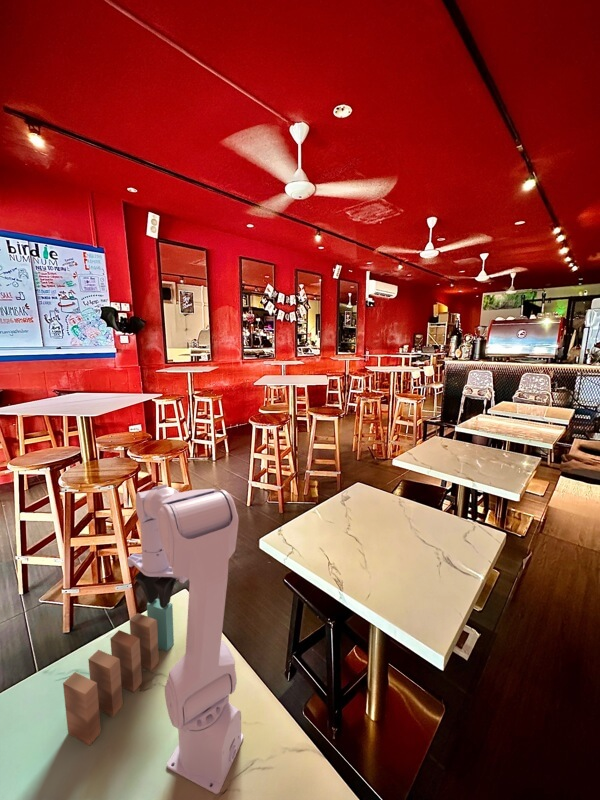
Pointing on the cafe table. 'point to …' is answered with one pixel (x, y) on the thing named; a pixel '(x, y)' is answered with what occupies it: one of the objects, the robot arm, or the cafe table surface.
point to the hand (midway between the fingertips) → (159, 602)
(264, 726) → the cafe table surface
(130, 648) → the domino
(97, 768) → the cafe table surface
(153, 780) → the cafe table surface
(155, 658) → the domino
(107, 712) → the domino
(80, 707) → the domino
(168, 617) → the domino
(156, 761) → the cafe table surface
